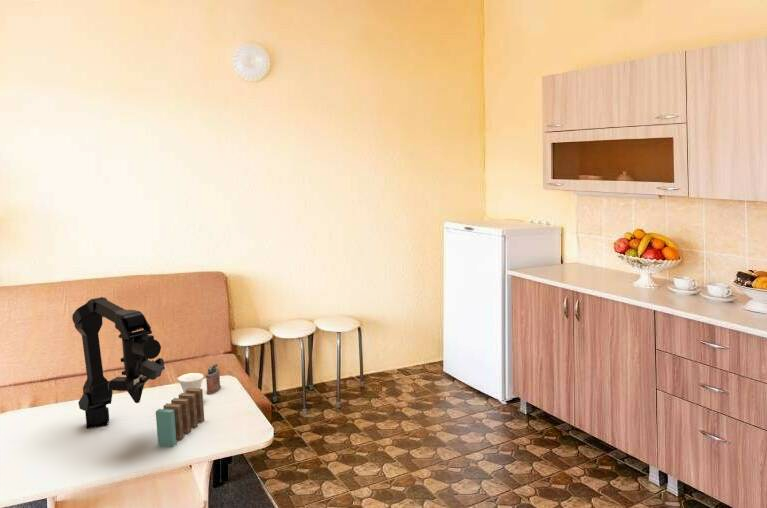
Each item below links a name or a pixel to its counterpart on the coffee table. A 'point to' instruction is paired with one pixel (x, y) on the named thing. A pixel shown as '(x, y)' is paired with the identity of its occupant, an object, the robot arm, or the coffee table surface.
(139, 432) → the coffee table surface
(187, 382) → the cup
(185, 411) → the brown wooden block
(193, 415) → the brown wooden plank
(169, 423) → the tile
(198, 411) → the tile
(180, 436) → the tile
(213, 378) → the lighter
